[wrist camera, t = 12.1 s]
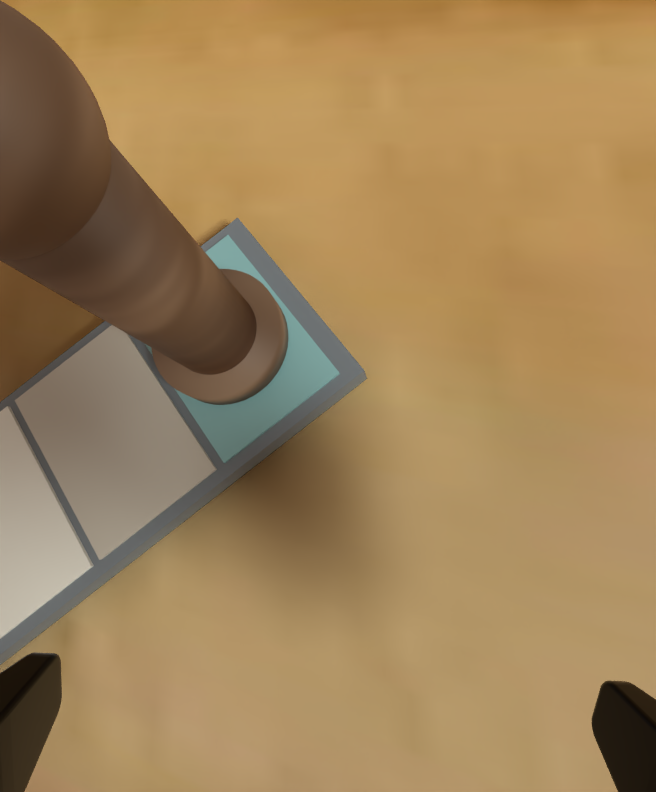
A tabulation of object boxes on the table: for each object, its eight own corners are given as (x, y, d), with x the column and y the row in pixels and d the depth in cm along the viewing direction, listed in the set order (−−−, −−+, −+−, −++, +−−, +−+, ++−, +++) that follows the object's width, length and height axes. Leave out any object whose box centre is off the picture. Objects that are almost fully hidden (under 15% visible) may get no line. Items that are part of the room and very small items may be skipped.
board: (247, 233, 21) (236, 215, 20) (367, 378, 19) (363, 369, 17) (-83, 489, 21) (-115, 488, 20) (-7, 669, 19) (-38, 682, 17)
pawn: (275, 412, 18) (-73, 194, 5) (154, 397, 19) (-381, 186, 6) (298, 286, 19) (53, -159, 6) (181, 279, 20) (-232, -111, 7)
